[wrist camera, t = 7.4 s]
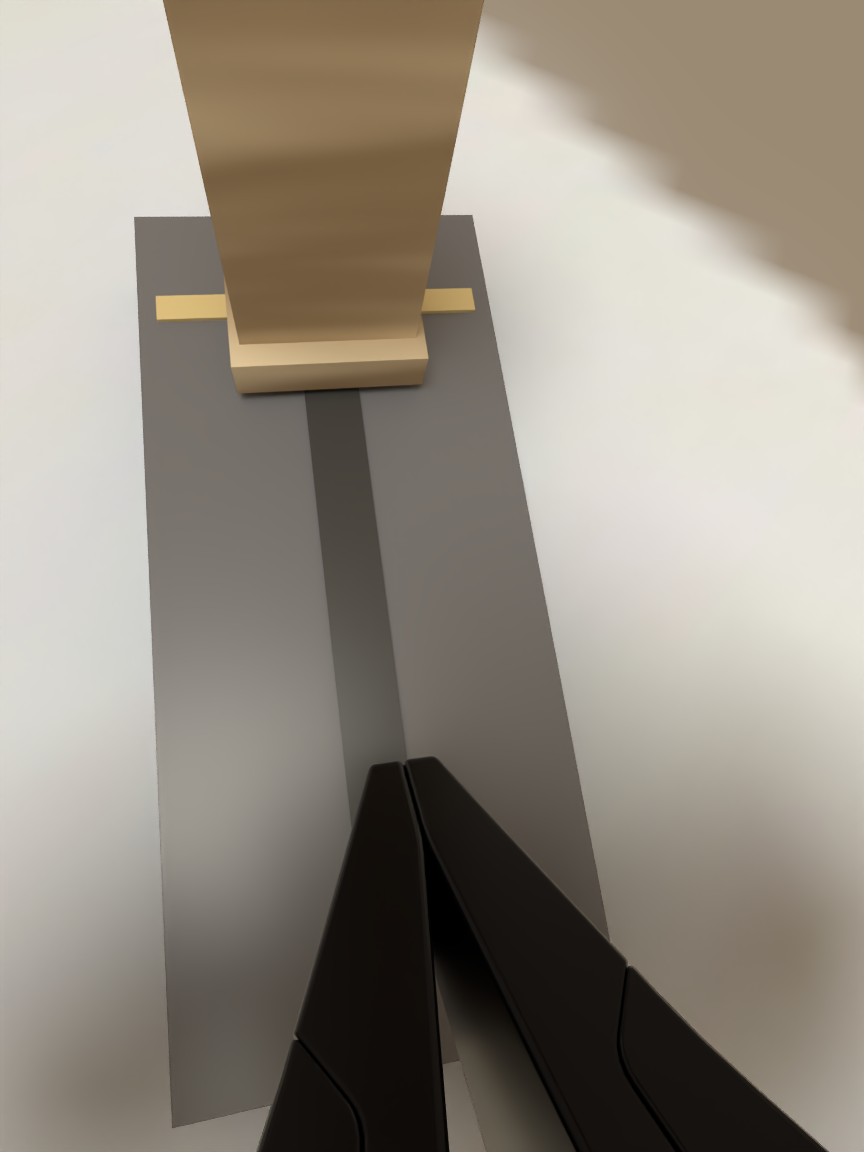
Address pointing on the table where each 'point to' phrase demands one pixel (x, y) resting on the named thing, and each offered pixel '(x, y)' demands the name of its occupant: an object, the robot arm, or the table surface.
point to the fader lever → (324, 175)
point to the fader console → (327, 642)
